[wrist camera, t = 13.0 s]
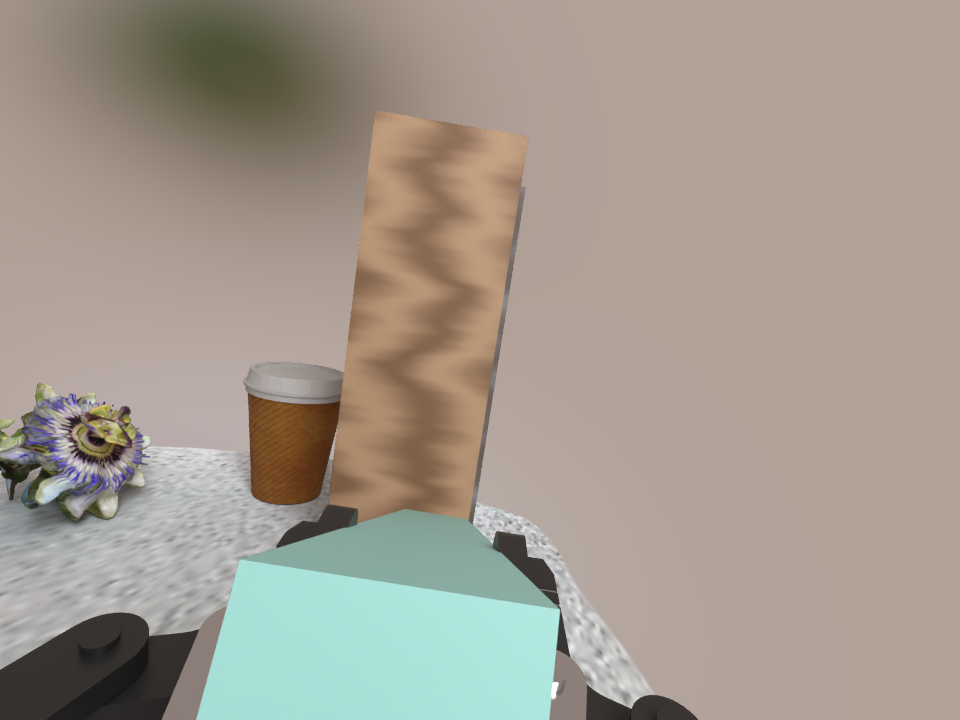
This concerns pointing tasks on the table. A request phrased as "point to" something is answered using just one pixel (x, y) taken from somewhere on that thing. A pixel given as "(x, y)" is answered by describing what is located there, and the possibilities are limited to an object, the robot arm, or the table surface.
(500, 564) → the rail
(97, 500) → the passion flower
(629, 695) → the table surface
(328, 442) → the disposable coffee cup
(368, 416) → the tall wooden pillar block
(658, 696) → the robot arm
